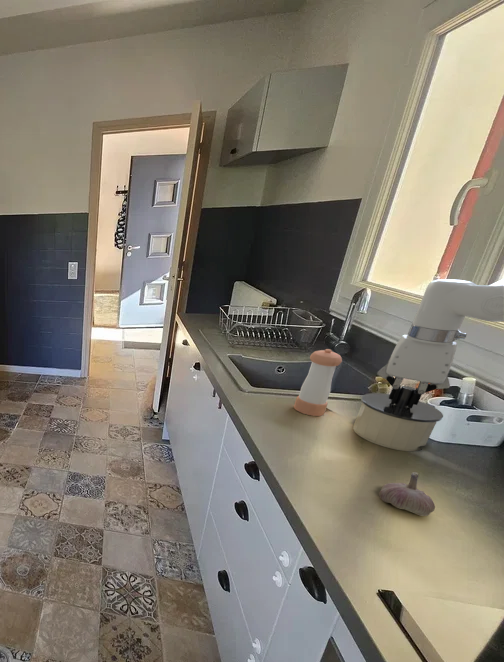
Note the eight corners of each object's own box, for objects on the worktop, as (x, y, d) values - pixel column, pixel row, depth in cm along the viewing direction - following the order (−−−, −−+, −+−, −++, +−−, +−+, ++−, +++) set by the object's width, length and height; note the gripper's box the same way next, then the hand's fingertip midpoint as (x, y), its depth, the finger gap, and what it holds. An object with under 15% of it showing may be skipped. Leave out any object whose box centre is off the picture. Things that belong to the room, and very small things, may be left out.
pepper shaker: (328, 411, 113) (349, 350, 106) (318, 418, 109) (340, 355, 102) (299, 402, 119) (318, 343, 111) (289, 409, 115) (308, 348, 107)
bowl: (437, 446, 96) (452, 416, 93) (400, 455, 92) (414, 424, 89) (376, 420, 108) (387, 393, 105) (340, 427, 104) (350, 400, 101)
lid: (456, 419, 92) (468, 396, 90) (414, 428, 89) (425, 404, 86) (385, 394, 106) (393, 373, 103) (346, 401, 102) (354, 380, 99)
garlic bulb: (367, 496, 79) (381, 464, 76) (396, 491, 81) (411, 460, 77) (409, 523, 72) (427, 489, 69) (440, 517, 74) (458, 483, 71)
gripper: (481, 337, 87) (446, 409, 94) (385, 324, 97) (360, 390, 104) (486, 344, 82) (449, 420, 89) (384, 331, 92) (357, 399, 99)
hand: (401, 403), depth 96 cm, fingers closed on lid, 2 cm apart
